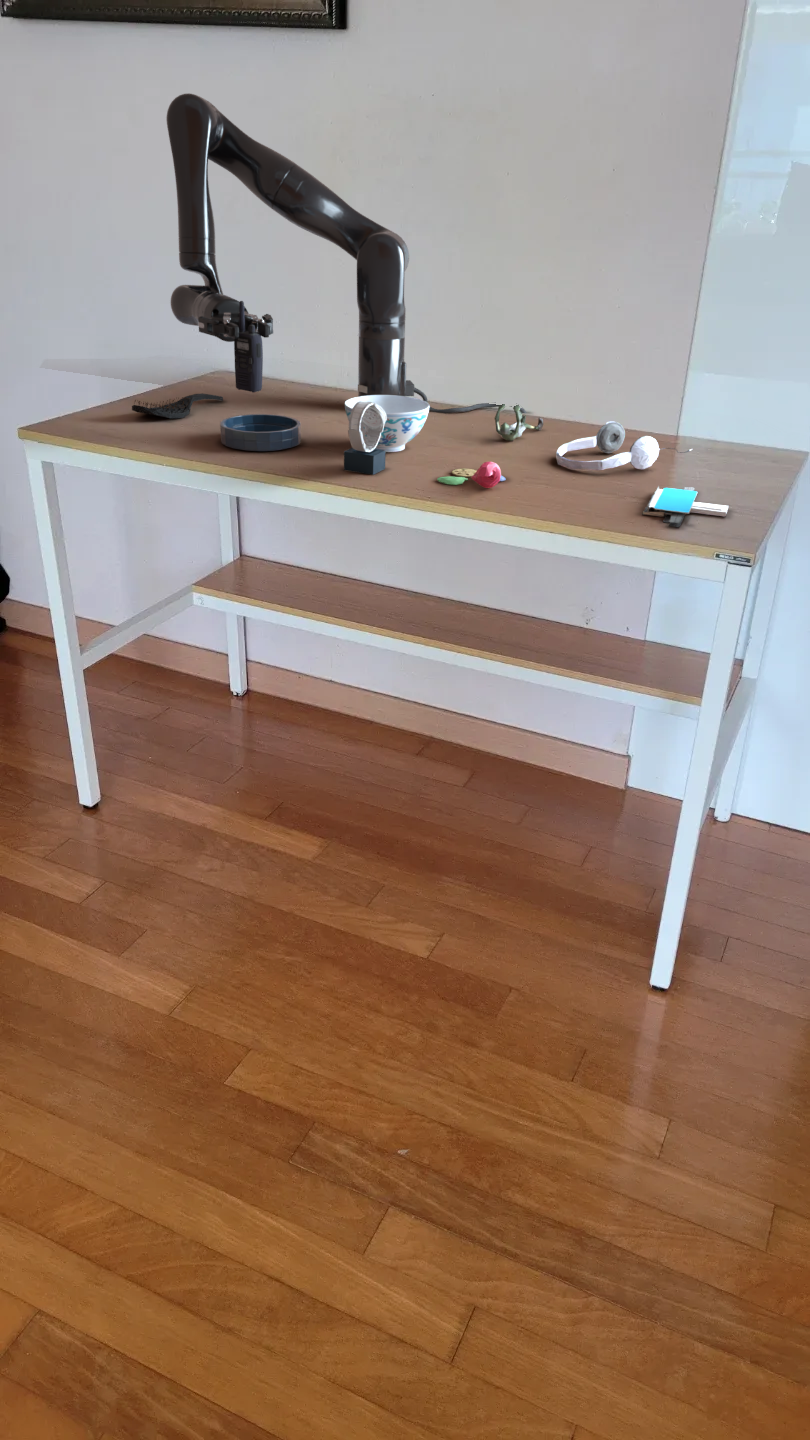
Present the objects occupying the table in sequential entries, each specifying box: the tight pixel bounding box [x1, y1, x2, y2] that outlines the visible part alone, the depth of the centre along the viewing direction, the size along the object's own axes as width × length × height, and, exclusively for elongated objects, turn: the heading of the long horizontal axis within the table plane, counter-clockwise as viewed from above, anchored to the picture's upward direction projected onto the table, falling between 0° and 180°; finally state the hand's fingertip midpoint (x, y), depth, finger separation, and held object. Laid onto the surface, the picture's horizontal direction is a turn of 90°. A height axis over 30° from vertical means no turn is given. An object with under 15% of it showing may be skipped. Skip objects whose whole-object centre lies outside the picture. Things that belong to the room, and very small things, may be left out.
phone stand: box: [642, 485, 729, 528], centre depth 164 cm, size 20×12×2 cm, turn 160°
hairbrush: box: [131, 392, 224, 419], centre depth 212 cm, size 8×4×25 cm
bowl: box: [219, 413, 302, 452], centre depth 192 cm, size 14×14×4 cm
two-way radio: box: [233, 300, 264, 394], centre depth 189 cm, size 6×4×15 cm
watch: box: [343, 401, 387, 476], centre depth 177 cm, size 6×8×11 cm
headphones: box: [555, 421, 693, 471], centre depth 186 cm, size 17×6×20 cm
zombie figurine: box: [494, 404, 544, 442], centre depth 201 cm, size 5×7×15 cm
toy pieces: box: [436, 460, 506, 489], centre depth 174 cm, size 12×11×4 cm
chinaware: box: [344, 395, 431, 453], centre depth 190 cm, size 15×15×8 cm
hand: (251, 331), depth 186 cm, fingers closed on two-way radio, 5 cm apart
